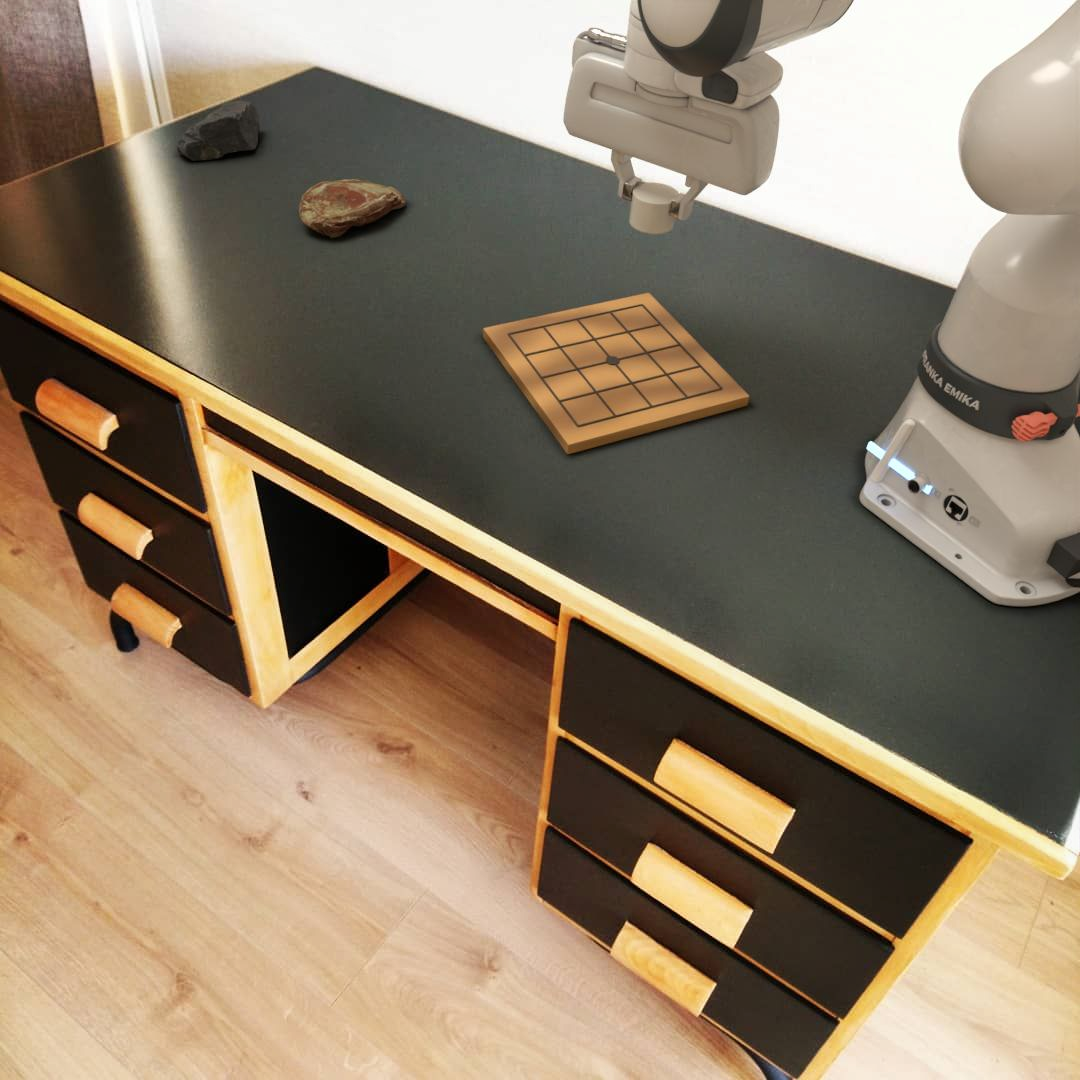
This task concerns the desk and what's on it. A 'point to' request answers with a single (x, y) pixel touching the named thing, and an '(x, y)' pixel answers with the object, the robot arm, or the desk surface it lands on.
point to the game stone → (652, 208)
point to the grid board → (612, 371)
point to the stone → (346, 205)
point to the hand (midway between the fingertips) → (654, 207)
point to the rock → (222, 132)
